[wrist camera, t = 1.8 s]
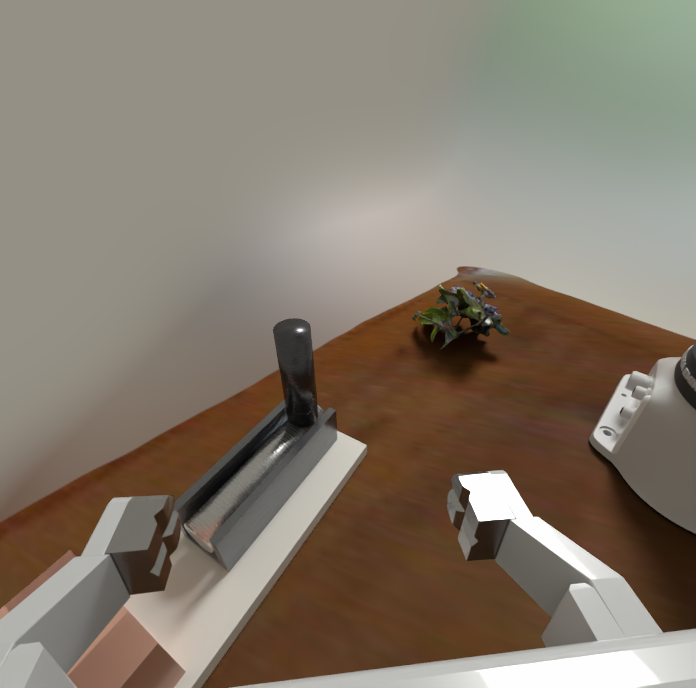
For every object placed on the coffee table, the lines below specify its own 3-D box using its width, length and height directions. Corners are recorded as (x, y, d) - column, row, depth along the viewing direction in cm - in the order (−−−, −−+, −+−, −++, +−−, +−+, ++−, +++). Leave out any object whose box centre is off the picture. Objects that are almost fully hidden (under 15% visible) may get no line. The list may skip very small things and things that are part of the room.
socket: (104, 585, 30) (70, 549, 26) (185, 671, 26) (157, 642, 22) (13, 673, 26) (-43, 645, 22) (92, 795, 21) (39, 785, 18)
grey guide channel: (297, 419, 44) (293, 390, 41) (337, 439, 41) (335, 410, 39) (184, 535, 33) (168, 507, 30) (228, 572, 31) (216, 545, 28)
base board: (283, 412, 47) (282, 403, 46) (366, 454, 42) (366, 445, 41) (9, 678, 27) (-3, 672, 26) (102, 826, 21) (91, 825, 20)
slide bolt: (305, 417, 43) (292, 313, 34) (328, 428, 41) (320, 322, 33) (190, 537, 32) (130, 427, 24) (216, 558, 30) (162, 449, 22)
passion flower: (468, 358, 63) (528, 322, 54) (431, 379, 56) (493, 341, 47) (432, 304, 66) (483, 261, 57) (392, 317, 59) (444, 270, 50)
